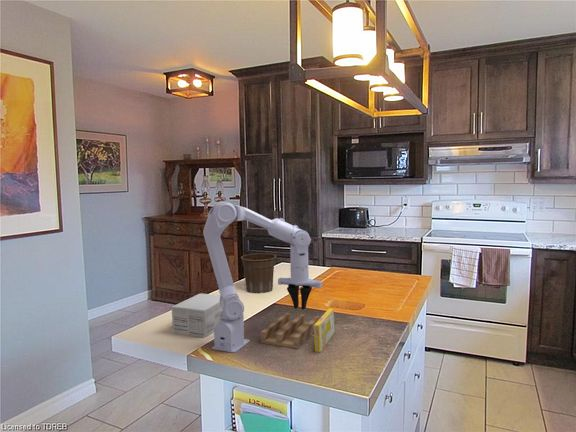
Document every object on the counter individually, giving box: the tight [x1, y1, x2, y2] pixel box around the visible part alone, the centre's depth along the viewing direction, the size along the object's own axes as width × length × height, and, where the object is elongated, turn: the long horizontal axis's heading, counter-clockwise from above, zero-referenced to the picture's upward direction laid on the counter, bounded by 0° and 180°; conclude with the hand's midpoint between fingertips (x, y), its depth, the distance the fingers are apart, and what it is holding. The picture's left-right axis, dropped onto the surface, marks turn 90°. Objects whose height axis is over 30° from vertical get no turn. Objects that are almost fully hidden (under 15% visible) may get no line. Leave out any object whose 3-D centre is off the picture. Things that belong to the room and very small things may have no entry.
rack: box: [260, 312, 321, 349], centre depth 131 cm, size 20×12×4 cm, turn 157°
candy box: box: [313, 308, 336, 353], centre depth 124 cm, size 16×2×8 cm, turn 159°
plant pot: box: [240, 253, 277, 294], centre depth 185 cm, size 16×16×16 cm
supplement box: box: [171, 292, 223, 338], centre depth 139 cm, size 17×13×9 cm
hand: (300, 308), depth 129 cm, fingers closed
